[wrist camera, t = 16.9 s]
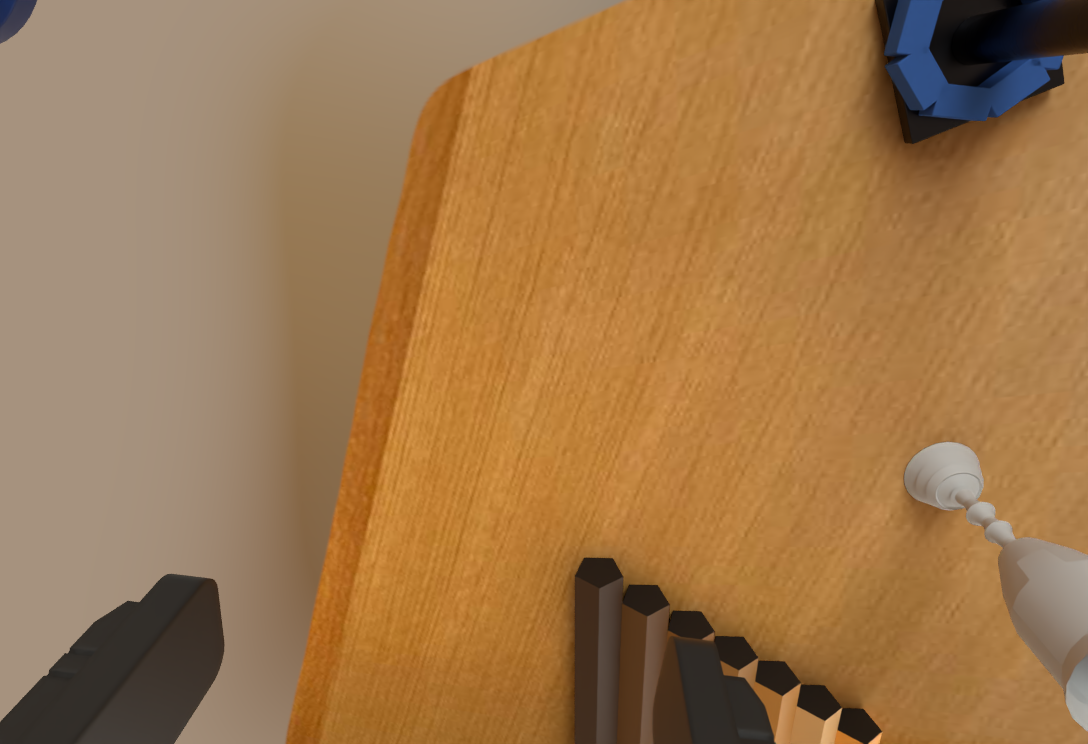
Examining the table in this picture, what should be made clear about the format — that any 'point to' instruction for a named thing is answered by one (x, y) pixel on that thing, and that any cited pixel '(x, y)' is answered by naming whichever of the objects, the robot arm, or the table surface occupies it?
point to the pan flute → (636, 660)
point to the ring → (927, 82)
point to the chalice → (1019, 570)
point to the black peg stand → (991, 45)
